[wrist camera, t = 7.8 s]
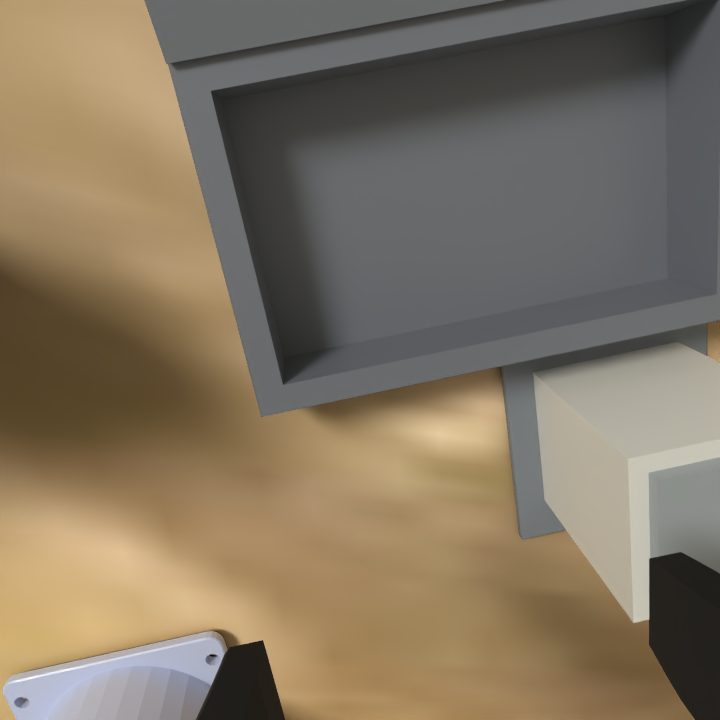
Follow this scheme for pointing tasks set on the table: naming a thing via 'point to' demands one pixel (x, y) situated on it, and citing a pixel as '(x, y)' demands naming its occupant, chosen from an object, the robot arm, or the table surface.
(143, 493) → the table surface
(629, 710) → the table surface
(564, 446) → the module
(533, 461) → the pad
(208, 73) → the case
